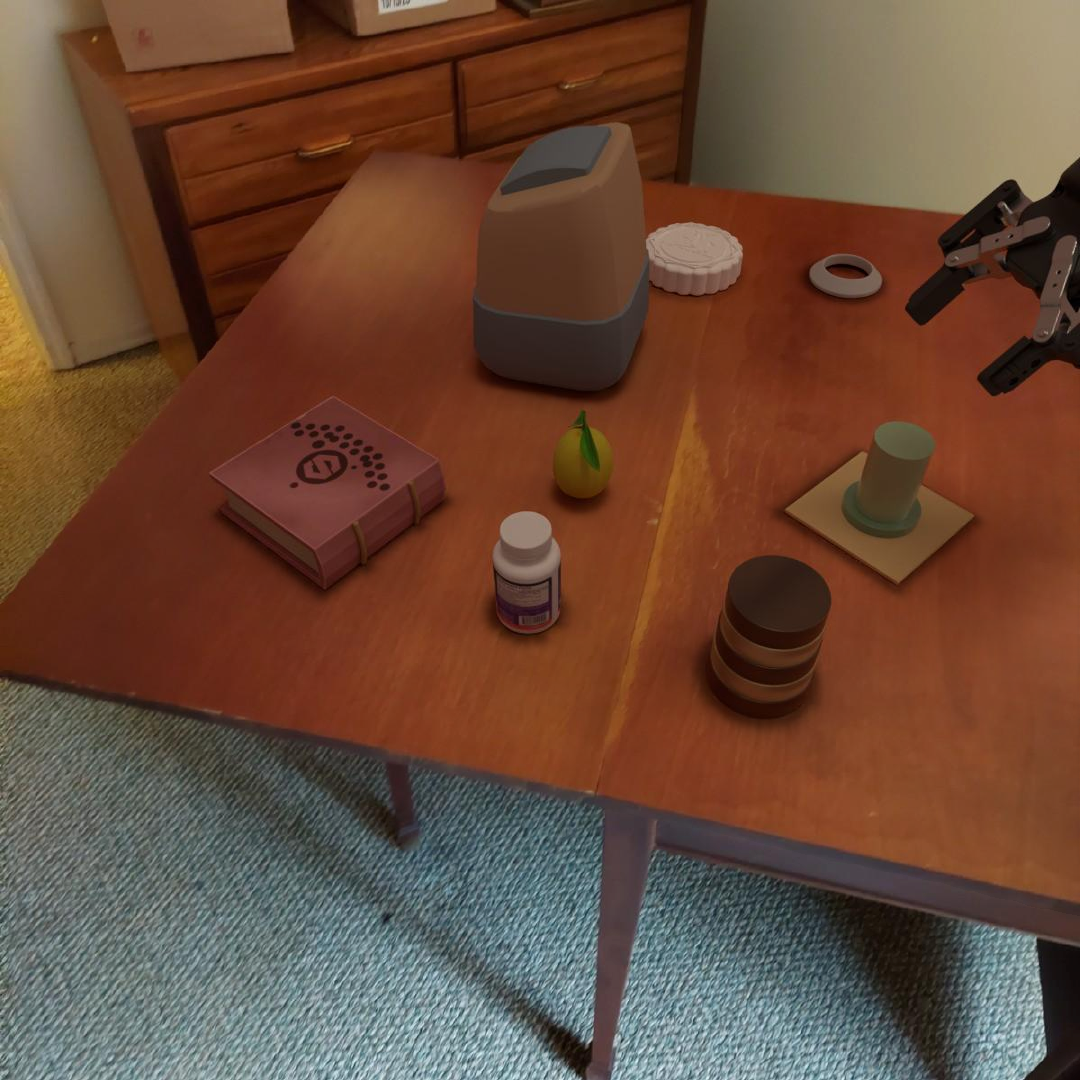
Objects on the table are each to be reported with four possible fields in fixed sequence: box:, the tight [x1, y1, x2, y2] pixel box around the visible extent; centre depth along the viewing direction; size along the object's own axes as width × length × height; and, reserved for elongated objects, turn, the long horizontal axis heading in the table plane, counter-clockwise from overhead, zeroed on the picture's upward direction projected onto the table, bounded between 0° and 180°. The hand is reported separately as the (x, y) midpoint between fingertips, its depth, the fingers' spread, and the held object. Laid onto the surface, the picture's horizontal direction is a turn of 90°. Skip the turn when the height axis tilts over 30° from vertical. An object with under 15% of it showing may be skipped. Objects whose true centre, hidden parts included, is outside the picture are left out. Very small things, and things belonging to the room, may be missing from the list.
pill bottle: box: [491, 510, 562, 635], centre depth 76 cm, size 5×5×10 cm
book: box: [208, 395, 447, 590], centre depth 86 cm, size 14×15×5 cm
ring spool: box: [841, 420, 936, 538], centre depth 84 cm, size 7×7×8 cm
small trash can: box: [472, 121, 650, 392], centre depth 96 cm, size 17×17×23 cm
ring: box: [808, 253, 883, 299], centre depth 114 cm, size 8×8×2 cm
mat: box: [784, 450, 975, 586], centre depth 87 cm, size 12×12×1 cm
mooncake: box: [646, 221, 744, 297], centre depth 115 cm, size 12×12×4 cm
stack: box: [705, 554, 832, 719], centre depth 71 cm, size 8×8×10 cm
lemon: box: [552, 408, 614, 499], centre depth 85 cm, size 7×6×10 cm
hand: (946, 351), depth 64 cm, fingers open, 8 cm apart
